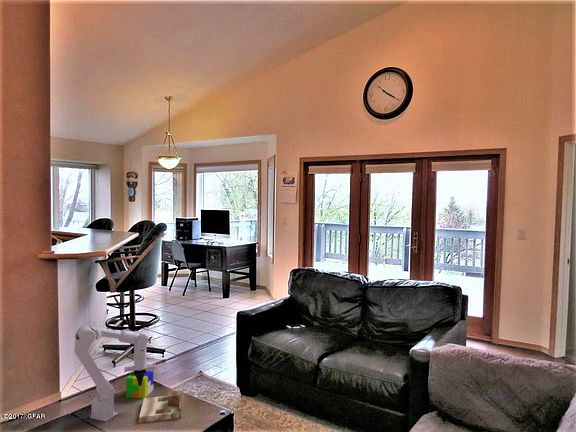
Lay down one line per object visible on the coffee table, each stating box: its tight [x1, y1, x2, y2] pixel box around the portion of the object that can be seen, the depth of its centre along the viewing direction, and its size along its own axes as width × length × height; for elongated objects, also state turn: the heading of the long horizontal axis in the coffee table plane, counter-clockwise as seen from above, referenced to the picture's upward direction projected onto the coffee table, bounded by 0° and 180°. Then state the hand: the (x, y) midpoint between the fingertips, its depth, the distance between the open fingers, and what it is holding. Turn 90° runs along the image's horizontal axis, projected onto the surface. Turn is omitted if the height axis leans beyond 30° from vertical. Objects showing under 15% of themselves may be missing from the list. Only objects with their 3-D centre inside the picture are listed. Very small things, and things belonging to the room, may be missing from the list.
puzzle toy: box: [125, 370, 154, 399], centre depth 212 cm, size 10×10×10 cm
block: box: [167, 390, 180, 407], centre depth 195 cm, size 5×5×5 cm
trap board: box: [138, 390, 183, 423], centre depth 194 cm, size 18×19×4 cm
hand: (140, 384), depth 198 cm, fingers closed
